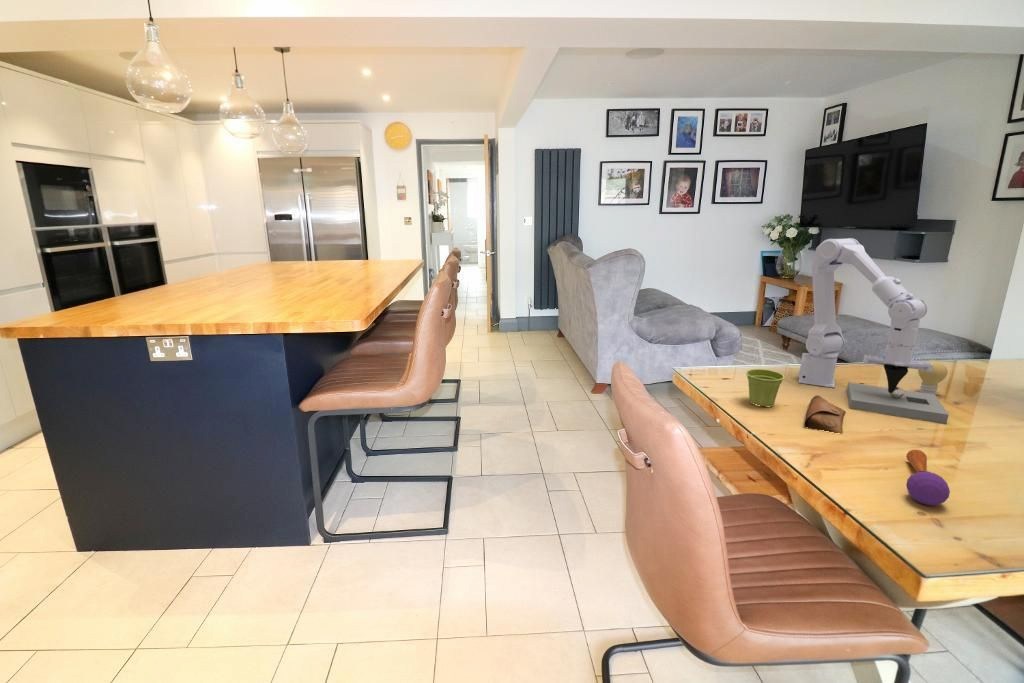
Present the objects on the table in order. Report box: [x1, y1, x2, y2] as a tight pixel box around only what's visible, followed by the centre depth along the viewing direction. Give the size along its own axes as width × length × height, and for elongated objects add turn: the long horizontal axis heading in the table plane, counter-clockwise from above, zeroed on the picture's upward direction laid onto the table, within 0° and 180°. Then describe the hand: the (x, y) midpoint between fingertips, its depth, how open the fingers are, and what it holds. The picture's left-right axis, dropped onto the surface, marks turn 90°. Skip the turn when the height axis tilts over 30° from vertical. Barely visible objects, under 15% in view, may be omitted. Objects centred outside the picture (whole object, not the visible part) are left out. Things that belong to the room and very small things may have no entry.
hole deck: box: [846, 382, 949, 425], centre depth 132 cm, size 20×16×2 cm
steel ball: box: [890, 385, 904, 398], centre depth 131 cm, size 3×3×3 cm
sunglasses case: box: [803, 395, 846, 435], centre depth 124 cm, size 18×7×7 cm, turn 145°
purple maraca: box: [905, 449, 951, 506], centre depth 94 cm, size 6×6×20 cm
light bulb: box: [917, 360, 948, 395], centre depth 139 cm, size 6×6×10 cm
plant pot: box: [745, 368, 785, 407], centre depth 134 cm, size 9×9×9 cm
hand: (891, 392), depth 132 cm, fingers closed, pressing on steel ball
